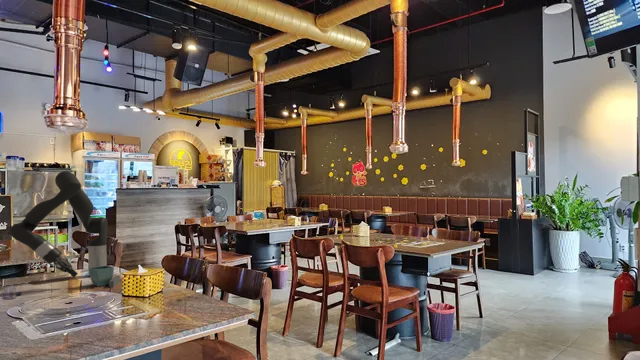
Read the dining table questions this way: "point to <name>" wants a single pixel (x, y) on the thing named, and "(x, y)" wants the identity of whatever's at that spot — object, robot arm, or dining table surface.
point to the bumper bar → (114, 281)
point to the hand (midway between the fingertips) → (76, 275)
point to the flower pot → (101, 275)
